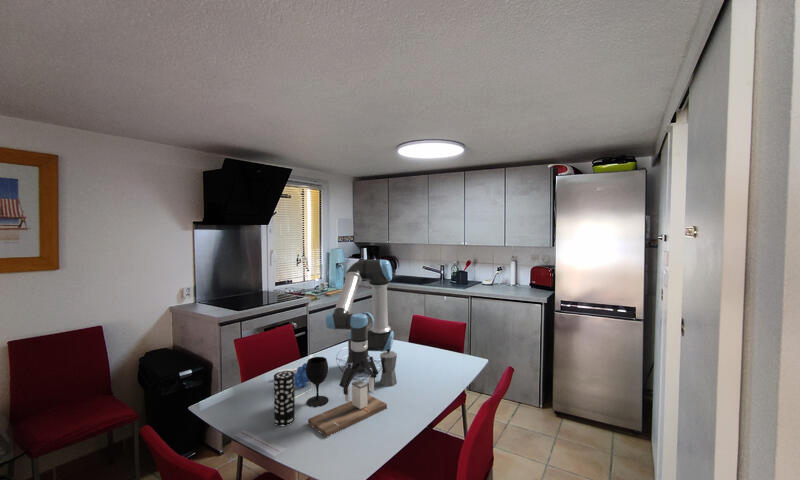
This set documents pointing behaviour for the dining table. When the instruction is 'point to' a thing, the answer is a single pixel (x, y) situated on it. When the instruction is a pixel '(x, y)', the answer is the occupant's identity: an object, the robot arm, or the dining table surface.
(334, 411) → the brown flat wooden board
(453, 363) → the dining table surface
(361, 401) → the fader
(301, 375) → the grapes
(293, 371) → the napkin holder
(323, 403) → the wine glass
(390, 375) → the coffeepot
